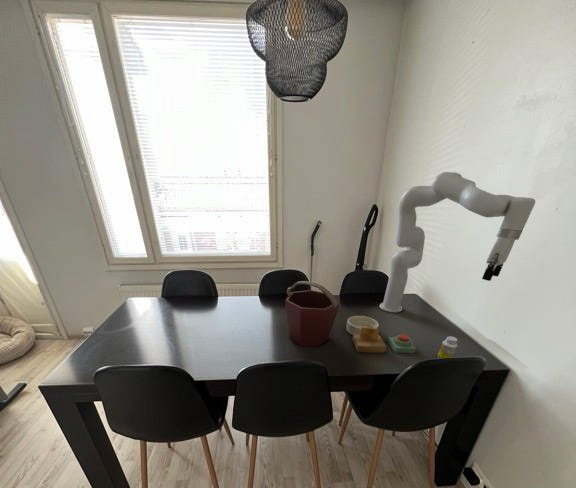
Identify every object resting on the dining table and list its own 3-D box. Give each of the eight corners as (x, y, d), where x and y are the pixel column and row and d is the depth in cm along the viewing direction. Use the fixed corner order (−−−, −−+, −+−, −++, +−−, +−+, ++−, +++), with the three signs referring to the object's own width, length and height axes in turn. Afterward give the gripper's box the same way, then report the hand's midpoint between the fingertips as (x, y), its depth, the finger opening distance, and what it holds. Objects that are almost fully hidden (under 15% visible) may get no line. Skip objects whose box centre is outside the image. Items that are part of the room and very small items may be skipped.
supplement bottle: (438, 354, 127) (447, 333, 121) (452, 359, 124) (461, 338, 119) (434, 359, 124) (443, 338, 118) (448, 364, 121) (457, 343, 115)
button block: (387, 341, 136) (389, 333, 133) (406, 341, 136) (409, 334, 134) (394, 352, 127) (396, 344, 125) (414, 352, 128) (417, 345, 125)
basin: (343, 324, 148) (345, 315, 146) (371, 325, 149) (374, 316, 146) (349, 338, 136) (350, 328, 133) (379, 339, 137) (382, 329, 134)
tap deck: (351, 337, 137) (352, 331, 136) (376, 337, 138) (378, 331, 136) (357, 352, 126) (358, 345, 125) (384, 352, 127) (386, 346, 125)
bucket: (274, 332, 138) (275, 280, 124) (309, 321, 149) (314, 272, 135) (308, 355, 122) (313, 298, 108) (344, 341, 134) (354, 288, 120)
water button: (396, 337, 131) (397, 333, 130) (406, 337, 132) (407, 334, 131) (399, 342, 128) (400, 338, 127) (409, 342, 128) (410, 338, 127)
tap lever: (359, 337, 131) (361, 327, 128) (359, 335, 132) (362, 325, 129) (376, 340, 130) (379, 329, 127) (376, 338, 131) (379, 327, 128)
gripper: (505, 230, 121) (487, 272, 131) (491, 234, 111) (473, 279, 121) (526, 233, 117) (506, 276, 126) (513, 238, 107) (493, 284, 116)
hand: (490, 277), depth 123 cm, fingers open, 9 cm apart
